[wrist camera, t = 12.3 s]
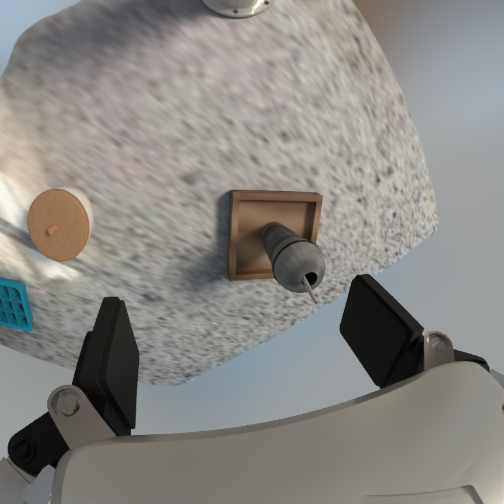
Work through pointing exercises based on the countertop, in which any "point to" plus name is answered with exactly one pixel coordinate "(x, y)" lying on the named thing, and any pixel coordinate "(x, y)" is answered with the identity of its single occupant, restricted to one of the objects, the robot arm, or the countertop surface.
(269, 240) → the beverage cup
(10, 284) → the ice cube tray
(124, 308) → the robot arm
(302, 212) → the walnut tray
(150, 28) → the countertop surface
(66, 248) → the lidded jar
